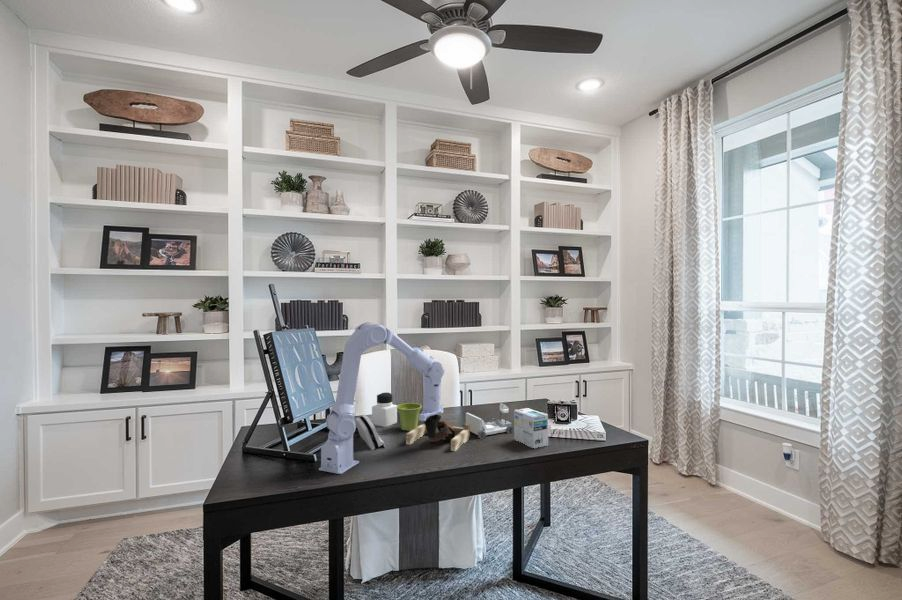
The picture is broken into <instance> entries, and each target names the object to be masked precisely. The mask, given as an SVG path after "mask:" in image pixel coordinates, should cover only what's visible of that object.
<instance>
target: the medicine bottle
mask: <svg viewBox="0 0 902 600" xmlns="http://www.w3.org/2000/svg"><path fill="white" fill-rule="evenodd" d="M397 406H398V405H397V404H393V394H392V393H390V392H387V391H385V392H379V393H378V394H376V405H372V406H371V422H372V423H373V425H374V426H379V427H382V428H383V427H384V428H387V427H389V426H393V425H394V424H395V425H396V424H397V423H398V408H397Z"/></svg>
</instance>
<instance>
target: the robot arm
mask: <svg viewBox="0 0 902 600" xmlns="http://www.w3.org/2000/svg"><path fill="white" fill-rule="evenodd" d="M382 344H385V345H389V346H391V347H392V348H393V349H395V350H396V351H398V352H400V354H402V355H404V356H405V360H406V362H407V364H409V365H411V366H412V367H414V368H415V369H416V370H417V371H419V372H420V373H421V376H423V403H422V405H423V406H422V408H423V409H422V411H420V412H421V413H419V419H418V421H419V422H420V421H421V422H422V421H424V423H425V426H426V429H427V438H428V437H430V438H434V437H435V433H436V429H437V425H438V423H439V421H441V419H442V415H441V414H444V405H443V404H441V393H442V392H441V387H442V386H441V385H442V384H441V383H442V378H443V376H444V374H445V369H444V367H443V364H442V363H441V362H439V361H435V360H434V357H433V356H432V355H431V356H429V355H428V354H427V353H425V352H424V351H425V350H424V349H423V348H422V347H417V346H416V347H411V346H410V345H409V344H408V343H407V342H405V341H404V340H403V339H402V338H400V337H399V336H398V335H397V334H395V333H394V332H393V331H392V330H391V329H389V328H386V327H385V326H384V325H382V324H380V323H372V322H368V321H367V322H362V323H361V324H359V325H358V326H356V327H355V329H354V331H353V332H352V334H351V336H350V337H349V338H348V340H346V342H345V344H344V346H343V348H344V349H343V354H342V359H341V360H342V361H341V367H340V373H339V379H338V385H337V391H336V397H335V402H334V404H333V405H332V406H331V409H330V413H329V414H328V415H327V417H326V420H325V425H326V427H327V429H328V430H329V432H328V436H327V437H328V438H327V440H326V441H325V443H324V444H322V446H321V449H320V467H319V468H318V470H319V471H320V472H321V471H322V472H328V473H332V474H337V475H338V474H339V475H342V474H344V473H345V472H347V471H348V470H350V469H352V468H354V467H355V466H356V465H358V464H360V461H359V460H355V459H354V433H355V432H356V428H357V425H356V423H355V417H356V415H355V414H356V412H355V407H354V403H355V396H356V389H357V383H358V378H359V371H360V364H361V360H362V359H361V358H362V354H363V353H364V352H365V351H367V350H369V349H371V348H373V347H376V346H379V345H382Z"/></svg>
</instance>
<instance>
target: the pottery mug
mask: <svg viewBox="0 0 902 600" xmlns="http://www.w3.org/2000/svg"><path fill="white" fill-rule="evenodd" d="M452 426H453V425H450V424H449V423H447V422H446V421H444V420H440V421H439V423H438V425H437V429H438V431H439V432H438V433H436V434H435V437H434V438H430V437H428V436H427V438H428V442H429V444H431V443H432V442H433V443H435V442H439V441H441V440H443V441H445V440H446V437H447V436H446V435H447V434H448V437H447V438H448V439H449V440H452V439H453V438H454V437H455V436H456V433H455V431H454V429H453V427H452Z"/></svg>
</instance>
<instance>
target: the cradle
mask: <svg viewBox="0 0 902 600" xmlns="http://www.w3.org/2000/svg"><path fill="white" fill-rule="evenodd" d="M421 422H422V423H421V424H420V425H418V427H416V428H415V429H413V430H412V431H407V433H406V434H405V444H406V445H409V446H410V445H412V444H413V443H415V442H416V441H418V440H419V439H421V438H422V437H423V435H424V434H425V435H426V433H427V429H426V426H425V423H424V421H421ZM451 426H452V427H453V429H454V431H455V433H456V436H455V437H454V438H453V439H450V452H456V451H457V450H459V448H461V447H462V446H463V445H464V444H465V443H467V441H469V440H470V439H471V431H470V424H465V428H463V427H462V426H453V425H451ZM438 432H439V431H438V429H436V433H438ZM436 433H435V434H436ZM425 435H424V436H425ZM447 436H448V434H447V435H446V436H445V437H447ZM420 437H421V438H420ZM469 438H470V439H469ZM417 439H418V440H417ZM414 441H415V442H414ZM463 443H464V444H463ZM462 444H463V445H462ZM461 445H462V446H461ZM460 446H461V447H460Z"/></svg>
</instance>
